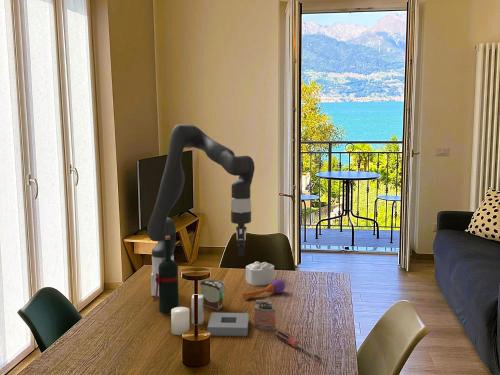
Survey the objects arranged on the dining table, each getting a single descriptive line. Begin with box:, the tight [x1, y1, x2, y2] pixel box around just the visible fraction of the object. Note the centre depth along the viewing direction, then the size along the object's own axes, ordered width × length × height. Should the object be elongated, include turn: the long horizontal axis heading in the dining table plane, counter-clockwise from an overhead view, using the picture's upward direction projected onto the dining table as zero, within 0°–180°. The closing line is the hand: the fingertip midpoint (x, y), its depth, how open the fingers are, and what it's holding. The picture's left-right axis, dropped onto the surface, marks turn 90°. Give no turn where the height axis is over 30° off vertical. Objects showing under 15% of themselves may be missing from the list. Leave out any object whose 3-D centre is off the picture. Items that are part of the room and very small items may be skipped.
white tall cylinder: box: [190, 294, 205, 325], centre depth 200 cm, size 4×4×10 cm
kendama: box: [242, 279, 286, 301], centre depth 230 cm, size 6×6×20 cm
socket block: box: [206, 312, 250, 337], centre depth 195 cm, size 14×14×3 cm
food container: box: [199, 278, 226, 311], centre depth 217 cm, size 12×6×10 cm, turn 47°
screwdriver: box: [275, 329, 323, 361], centre depth 178 cm, size 25×3×3 cm, turn 31°
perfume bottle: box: [253, 299, 276, 331], centre depth 195 cm, size 8×3×10 cm, turn 71°
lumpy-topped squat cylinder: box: [245, 261, 275, 286], centre depth 250 cm, size 10×13×9 cm
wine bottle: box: [152, 236, 180, 315], centre depth 210 cm, size 8×10×30 cm
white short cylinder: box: [170, 306, 191, 336], centre depth 191 cm, size 6×6×8 cm
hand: (241, 252), depth 201 cm, fingers open, 8 cm apart
